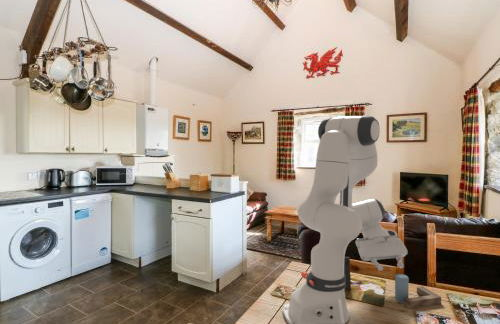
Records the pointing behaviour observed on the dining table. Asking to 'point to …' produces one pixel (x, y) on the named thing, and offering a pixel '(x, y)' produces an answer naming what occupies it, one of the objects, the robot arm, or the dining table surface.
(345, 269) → the door stopper
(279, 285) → the dining table surface
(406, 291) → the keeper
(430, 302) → the stop rail
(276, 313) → the dining table surface
